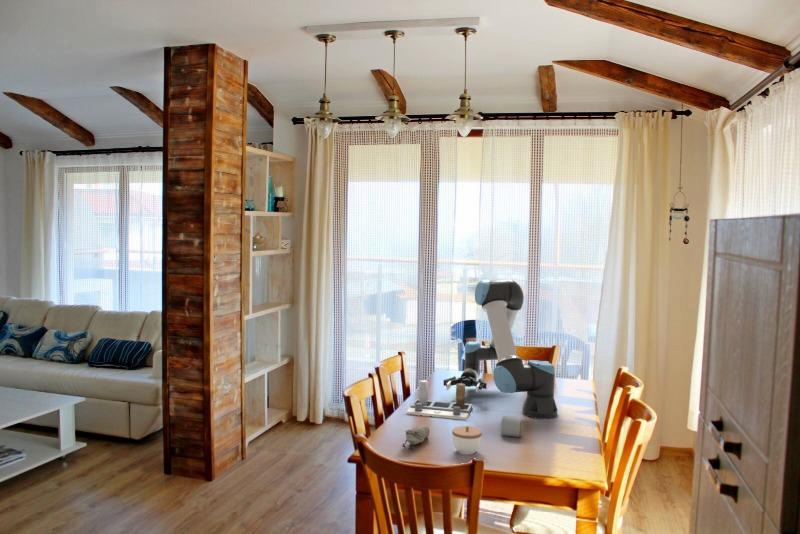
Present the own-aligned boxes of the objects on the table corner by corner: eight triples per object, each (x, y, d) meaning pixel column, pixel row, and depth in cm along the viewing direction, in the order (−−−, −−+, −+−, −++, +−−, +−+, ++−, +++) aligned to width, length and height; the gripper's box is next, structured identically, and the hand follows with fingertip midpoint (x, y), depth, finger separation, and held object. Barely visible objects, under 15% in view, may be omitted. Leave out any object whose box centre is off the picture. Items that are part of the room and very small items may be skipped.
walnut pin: (465, 412, 266) (466, 385, 265) (457, 412, 265) (457, 385, 264) (463, 409, 270) (463, 383, 269) (454, 409, 269) (455, 383, 268)
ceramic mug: (521, 440, 232) (522, 420, 231) (500, 437, 234) (500, 418, 233) (523, 431, 242) (524, 412, 241) (503, 429, 244) (504, 410, 244)
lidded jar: (486, 450, 220) (487, 425, 220) (473, 459, 211) (474, 433, 211) (460, 444, 226) (460, 419, 225) (446, 452, 217) (447, 427, 216)
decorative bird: (433, 439, 231) (433, 420, 230) (412, 452, 217) (412, 432, 217) (420, 436, 234) (421, 418, 233) (399, 449, 220) (399, 429, 219)
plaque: (468, 415, 261) (468, 406, 260) (466, 420, 255) (466, 410, 254) (410, 410, 267) (410, 400, 267) (406, 414, 262) (406, 404, 261)
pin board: (472, 408, 271) (472, 382, 271) (468, 415, 261) (469, 388, 260) (416, 403, 278) (416, 377, 278) (410, 409, 268) (410, 383, 267)
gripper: (494, 387, 290) (489, 399, 270) (443, 383, 297) (435, 394, 276) (494, 371, 290) (489, 382, 270) (444, 368, 296) (435, 378, 276)
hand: (462, 388), depth 273 cm, fingers open, 13 cm apart
